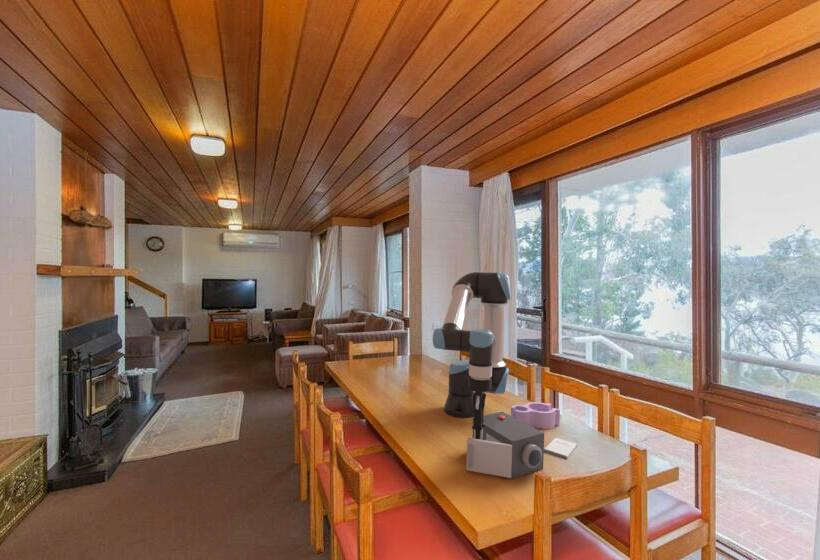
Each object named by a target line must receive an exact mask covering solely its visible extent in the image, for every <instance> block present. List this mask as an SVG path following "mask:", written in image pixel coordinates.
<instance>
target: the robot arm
mask: <svg viewBox="0 0 820 560" xmlns="http://www.w3.org/2000/svg"><path fill="white" fill-rule="evenodd" d="M511 291H512V289H511V281H510V277H509V275H508V274H507V273H503V272H477V271H475V272H469V273H467V274H465V275H463V276H462V277H460V278H458V280H457V281H456V282H455V283H454V285H453V287H452V289H451V296H452V297H451V300H450V304H449V307H448V309H447V311H446V314H445V318H444V322H443V324H442V327H440V328H435V329H434V330H433V333H432V346H433V347H434V348H435V349H438V350H443V351H457V352H458V351H459V352H465V353H466V352H468V353H469V354H468V355H469V356H468V357H469V359H462V360H455V361H453V362H451V363H450V364H449V368H448V394H447V398H446V400H445V403H444V413H445V414H446V415H448V416H451V417H454V418H455V417H456V418H462V419H464V418H466V419H467V418H474V426H473V425H472V426H471V429H472V430H473V429H474V439H480V440H483V428H482V427H485V425H484V424H483V422H484V420H483V418H484V415H485V413H484V412H485V406H486V399H487V393H488V394H493V395H496V394H497V395H503V394H505V393H506V389H507V383H508V377H509V371H510V368H508V367H507V364H506V362H505V361H504V360H503V352H504V351H503V349H504V347H503V346H504V316H505V315H504V313H505V312H504V311H505V307H506V305H508V301H510V300H511V299H512V294H511ZM473 299H480V303H481V304H482V305H483V329H479V328H478V329H472V330H464V329H463V328H464V325H465V321H466V316H467V313H468V310H469V304H470V302H471V301H472V300H473Z"/></svg>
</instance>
